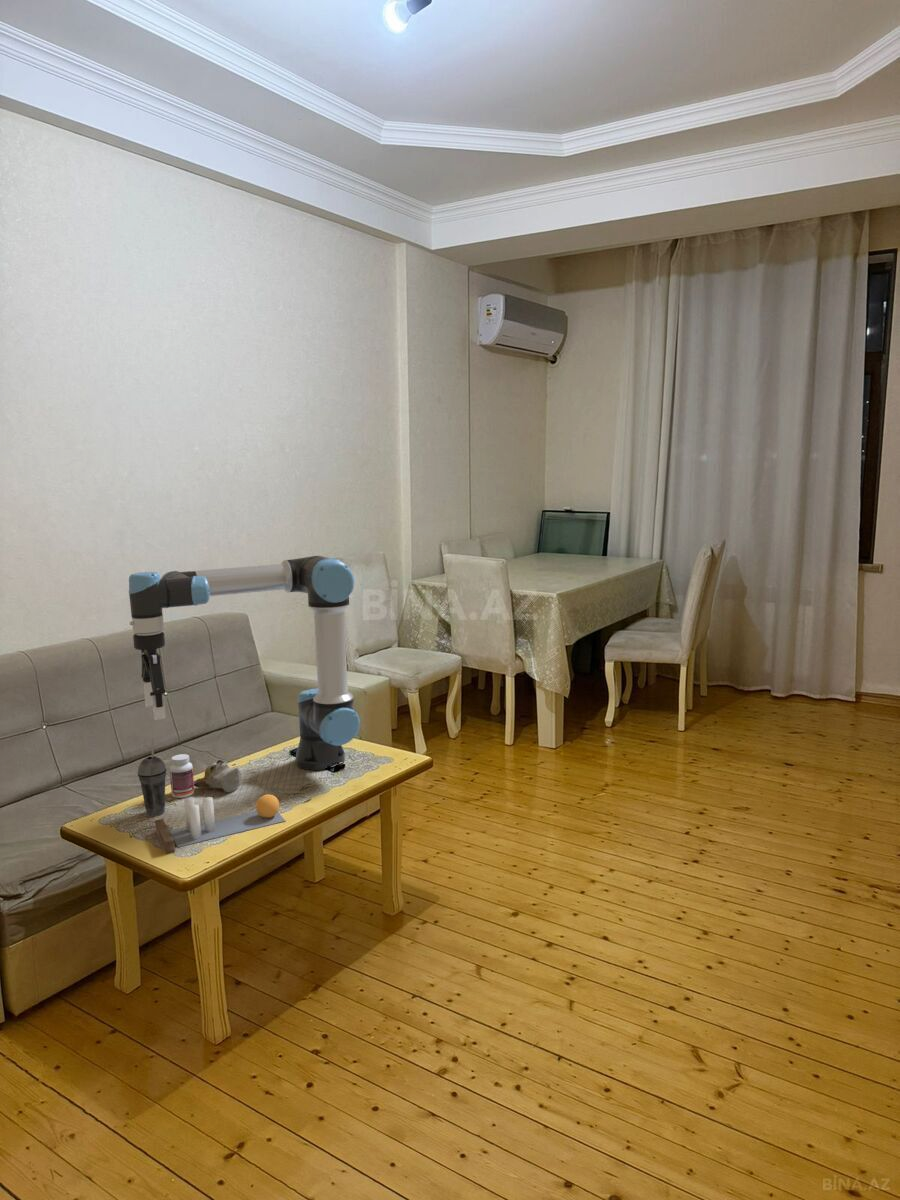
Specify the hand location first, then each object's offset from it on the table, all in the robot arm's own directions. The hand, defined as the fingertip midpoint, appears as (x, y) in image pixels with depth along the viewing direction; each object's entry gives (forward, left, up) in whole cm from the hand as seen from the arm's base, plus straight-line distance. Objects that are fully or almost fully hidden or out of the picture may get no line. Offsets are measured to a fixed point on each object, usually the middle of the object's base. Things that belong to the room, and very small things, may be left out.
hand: (155, 712), depth 209 cm
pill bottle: (-7, -10, -28) cm, 31 cm away
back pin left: (-4, +20, -28) cm, 35 cm away
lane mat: (-13, +18, -28) cm, 35 cm away
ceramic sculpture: (-17, -9, -28) cm, 35 cm away
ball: (-23, +18, -25) cm, 38 cm away
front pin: (-8, +18, -28) cm, 34 cm away
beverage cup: (+2, -1, -28) cm, 28 cm away
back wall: (+3, +18, -28) cm, 33 cm away
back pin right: (-4, +15, -28) cm, 32 cm away
